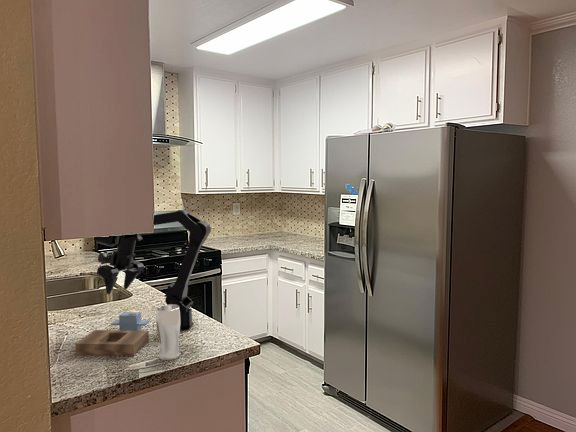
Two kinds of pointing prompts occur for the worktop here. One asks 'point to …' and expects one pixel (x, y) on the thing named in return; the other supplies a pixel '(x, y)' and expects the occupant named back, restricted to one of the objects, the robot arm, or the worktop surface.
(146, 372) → the worktop surface
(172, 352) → the beer glass
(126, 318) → the block
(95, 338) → the plate
